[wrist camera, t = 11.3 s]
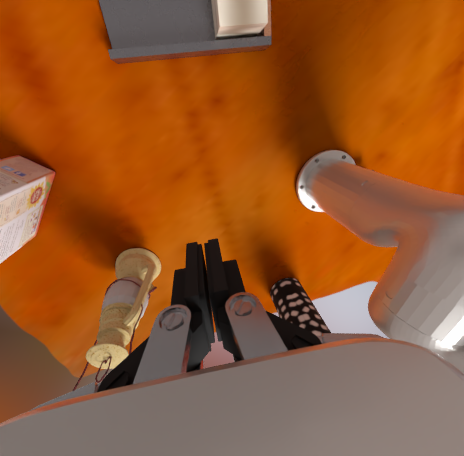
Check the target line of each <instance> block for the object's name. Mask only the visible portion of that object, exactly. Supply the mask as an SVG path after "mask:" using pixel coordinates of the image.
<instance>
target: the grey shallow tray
mask: <svg viewBox="0 0 464 456" xmlns="http://www.w3.org/2000/svg"><path fill="white" fill-rule="evenodd" d="M99 2H100V6H101V10H102V13H103V17H104V20H105V24H106V28H107V31H108V35H109V38H110V42H111V46H112V49H109V50H108V52H109V55H110V59H111V60H113V61H115V62H116V63H118V64H120V63H131V62H141V61H152V60H163V59H174V58H185V57H196V56H207V55H218V54H229V53H240V52H251V51H262V50H266V49H267V48H268V47H269V46H270V45H271V0H267V5H268V23H267V24H266V26H265V27H264V28H263V29H262V30H261V32H260V33H259V34H258V35H257V36H256V37H249V38H237V39H226V40H215V32H214V22H213V13H212V3H211V0H99Z"/></svg>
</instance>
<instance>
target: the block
mask: <svg viewBox="0 0 464 456" xmlns="http://www.w3.org/2000/svg"><path fill="white" fill-rule="evenodd" d="M211 3H212V13H213V22H214V32H215V40H226V39H237V38H249V37H256V36H257V35H258V34H259V33H260V32H261V30H262V29H263V28H264V27H265V26H266V24H267V23H268V5H267V0H211Z"/></svg>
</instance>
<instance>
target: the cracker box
mask: <svg viewBox="0 0 464 456" xmlns="http://www.w3.org/2000/svg"><path fill="white" fill-rule="evenodd" d="M54 176H55V172H54V171H52V170H50V169H48V168H46V167H44V166H41V165H39V164H37V163H35V162H33V161H30V160H28V159H26V158H24V157H22V156H20V155H16V156H12V157H8V158H4V159H0V263H1V262H3V261H4V260H5V259H7V258H8V257H9V256H10V255H12V254H13V253H14V252H16V251H17V250H18V249H19V248H21V247H22V246H23V245H25V244H26V243H27V242H28V241H30V240H31V239H32V238H34V237H35V236H36V234H37V231H38V228H39V225H40V221H41V218H42V215H43V212H44V208H45V205H46V202H47V199H48V196H49V192H50V189H51V186H52V183H53V179H54Z"/></svg>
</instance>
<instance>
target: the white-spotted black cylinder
mask: <svg viewBox="0 0 464 456" xmlns="http://www.w3.org/2000/svg"><path fill="white" fill-rule="evenodd" d="M270 295H271V298H272V300H273V302H274V305H275V307H276V310H277V312H278V314H279V317H280V318H282V319H284V320H287V321H289V322H291V323H293V324H295V325H297V326H299V327H302V328H304V329H306V330H308V331H310V332H312V333H313V334H315V335H316V336H322V334H323V333H331V332H330V330H329V329H328V327H327V326H326V324H325V322H324V321H323V319H322V318H321V316H320V314H319V313H318V311H317V310H316V308H315V306H314V305H313V303H312V301H311V300H310V298H309V297H308V295H307V293H306V292H305V290H304V289H303V287H302V285H301V284H300V282H299V281H298V280H296V279H294V278H285V279H282V280H280V281H278V282H277V283H275V284H274V286H273V287H272V289H271V292H270Z"/></svg>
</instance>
